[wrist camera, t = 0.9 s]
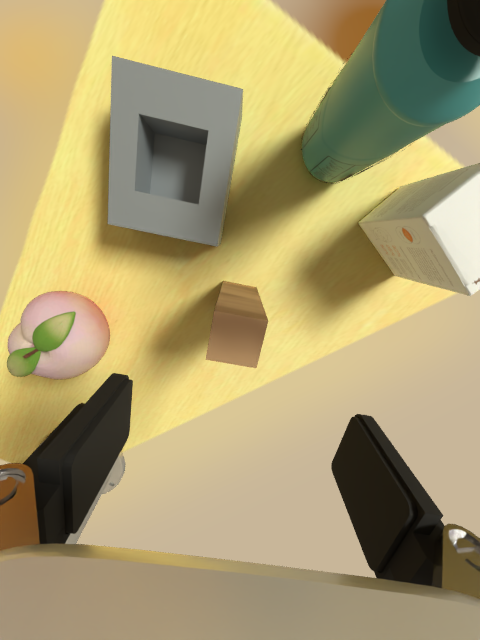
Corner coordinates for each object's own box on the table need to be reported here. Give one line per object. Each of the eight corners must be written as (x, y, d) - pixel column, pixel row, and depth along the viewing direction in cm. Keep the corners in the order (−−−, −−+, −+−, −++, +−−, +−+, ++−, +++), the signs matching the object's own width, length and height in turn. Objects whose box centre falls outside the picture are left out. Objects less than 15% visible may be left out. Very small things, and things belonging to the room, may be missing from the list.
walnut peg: (249, 318, 31) (256, 368, 20) (217, 312, 31) (205, 359, 19) (256, 287, 30) (268, 320, 18) (223, 281, 29) (214, 310, 18)
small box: (436, 243, 28) (544, 249, 18) (392, 276, 29) (472, 299, 19) (400, 184, 26) (500, 154, 16) (355, 222, 27) (423, 215, 17)
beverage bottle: (322, 201, 27) (528, 124, 8) (281, 149, 25) (415, -107, 6) (373, 152, 25) (779, -92, 6) (333, 93, 24) (715, -466, 5)
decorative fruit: (102, 365, 33) (47, 418, 23) (43, 328, 31) (-41, 370, 22) (141, 313, 31) (98, 348, 21) (80, 269, 29) (3, 287, 19)
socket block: (220, 244, 28) (217, 246, 23) (130, 225, 27) (107, 224, 23) (241, 117, 24) (242, 89, 19) (137, 91, 23) (112, 55, 19)
